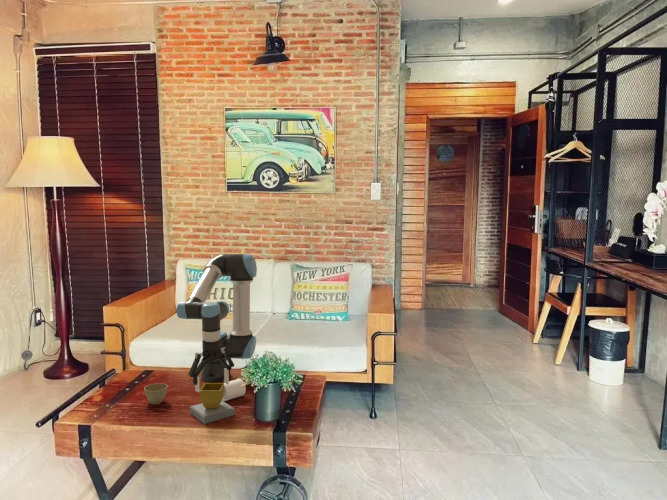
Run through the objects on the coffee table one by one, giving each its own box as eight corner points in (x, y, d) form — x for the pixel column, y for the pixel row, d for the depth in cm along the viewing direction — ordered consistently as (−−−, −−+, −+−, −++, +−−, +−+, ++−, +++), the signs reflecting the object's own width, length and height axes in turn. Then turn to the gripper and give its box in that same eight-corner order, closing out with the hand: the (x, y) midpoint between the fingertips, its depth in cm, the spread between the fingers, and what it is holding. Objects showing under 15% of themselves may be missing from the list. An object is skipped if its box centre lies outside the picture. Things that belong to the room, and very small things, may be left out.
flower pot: (199, 411, 202) (199, 390, 201) (204, 402, 211) (204, 382, 210) (220, 411, 202) (220, 390, 202) (224, 402, 211) (224, 382, 210)
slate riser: (219, 404, 216) (219, 397, 216) (234, 414, 206) (234, 408, 206) (189, 412, 207) (189, 406, 207) (204, 424, 197) (204, 417, 197)
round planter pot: (160, 407, 212) (159, 392, 211) (139, 405, 214) (139, 390, 213) (172, 399, 222) (171, 384, 221) (152, 397, 224) (152, 382, 223)
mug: (245, 397, 225) (245, 381, 224) (227, 403, 218) (227, 386, 217) (231, 390, 233) (231, 374, 233) (213, 395, 226) (213, 379, 226)
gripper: (233, 332, 215) (233, 377, 217) (179, 342, 198) (180, 392, 201) (241, 336, 209) (242, 382, 211) (187, 347, 193) (188, 397, 195)
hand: (212, 387), depth 206 cm, fingers open, 13 cm apart
